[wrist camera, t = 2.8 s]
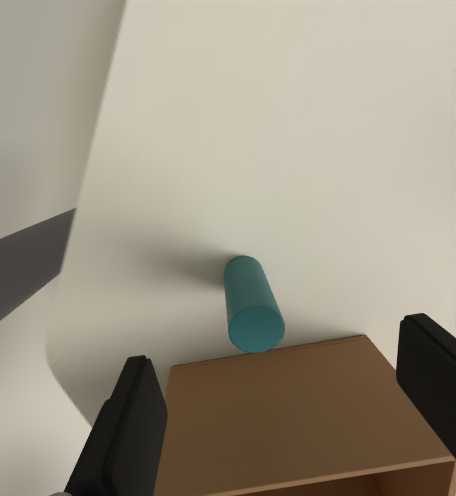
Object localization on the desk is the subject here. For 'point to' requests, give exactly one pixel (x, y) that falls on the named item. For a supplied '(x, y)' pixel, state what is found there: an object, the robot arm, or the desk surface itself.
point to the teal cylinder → (251, 307)
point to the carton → (299, 427)
